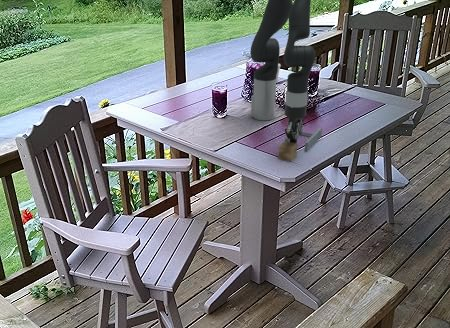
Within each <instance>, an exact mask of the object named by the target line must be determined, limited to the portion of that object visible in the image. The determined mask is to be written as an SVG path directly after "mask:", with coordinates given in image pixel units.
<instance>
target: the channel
mask: <svg viewBox="0 0 450 328" xmlns="http://www.w3.org/2000/svg"><path fill="white" fill-rule="evenodd" d="M303 126H304V125H302V128H301V131H300V134H298V137H299V136H300V137H301V136H303V137H307V138H308V139H307V140H306V141H305V142H304V152H306V153H307V152H308V151H310V149H311V148H313V146H314V145H315V144H316V143H317V142H318V141H319V140H320V138H322V132H323V128H322V127H319V128H318V129H317V130H316V131H315V132H314V133H309V132H306V131H303ZM284 141H287V142H290V139H288V138H287V136H286V137H284Z"/></svg>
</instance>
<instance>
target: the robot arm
mask: <svg viewBox="0 0 450 328" xmlns="http://www.w3.org/2000/svg"><path fill="white" fill-rule="evenodd" d="M311 1H312V0H294V1H293V0H268V1H267V2H266V3H267V4H266V7H265V8H264V9H265V10H264V12H263V16H262V19H261V22H260V23H259V24H260V25H259V28H258V30H257V32H256V34H255V36H254V38H253V41H252V43H251V46H250V58H251V60H252V61H253V62H254V63H259V64H260V63H264V64H263V65H262V66H261V67H258V68H257V69H255V70H254V74H253V94H252V95H251V99H250V100H251V102H250V105H251V107H250V117H251V118H253V119H255V120H258V121H271V120H273V119H274V118H275V114H276V113H275V112H276V111H275V109H276V93H277V92H276V90H277V89H276V88H277V84H276V75H277V72H278V63H279V61H280V53H281V52H280V44H279V40H277V38H274V37H273V36H274V35H275V34H276V33H277V32H279V30H281V29H282V28H283V27H284V26H285V25H286V24H287V22H288V34H287V35H288V37H287V41H286V45H285V49H284V52H283V56H282V57H283V59H282V60H283V63H284V64H285V66H286V67H289V68H301V69H300V70H298V71H293V72H291V73H289V74H288V76H287V81H286V82H287V83H286V93H285V103H284V104H285V105H284V115H285V116H286V117H287V118H288V120H287V128H285V129H284V132H285V133H284V134H285V135H286V137H287V138H288V139H290V142H292V143H297V144H298V138H299V136H298V134H300V131H301V128H302V129H303V127H302V125H303V124H304V122H305V121H304V118H305V117H306V115H307V105H308V104H307V103H308V85H309V78H310V75H311V71H312V68H313V66H314V63H315V61H316V55H317V54H316V51H315V48H314V47H313V46H312V45H295V43H296V42H298V41H301V40H304V39H308V38H309V37H310V34H311V33H310V32H311V29H310V28H311V4H312V3H311ZM303 126H304V125H303Z"/></svg>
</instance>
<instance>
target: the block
mask: <svg viewBox="0 0 450 328" xmlns="http://www.w3.org/2000/svg"><path fill="white" fill-rule="evenodd" d="M297 150H298V142H297V143H292V142H287V141H285V140H283V141H282V142H281V143H280V144H279V145H278V156H277V159H278V160H283V161H286V162H293V161H294V159H295V158H296V157H297V152H298V151H297Z"/></svg>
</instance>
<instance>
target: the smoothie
mask: <svg viewBox="0 0 450 328" xmlns="http://www.w3.org/2000/svg"><path fill="white" fill-rule="evenodd" d="M281 66H282V65H281V63H279V62H278V72H277V75H276V83H277V84H278V79H279V75H280V68H281Z"/></svg>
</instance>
